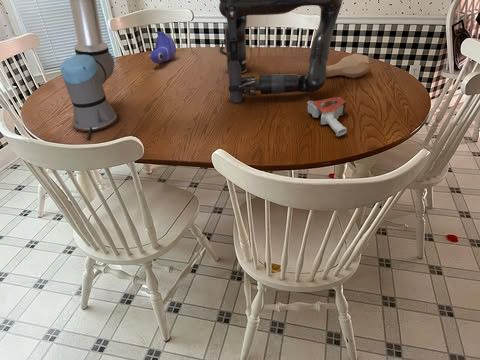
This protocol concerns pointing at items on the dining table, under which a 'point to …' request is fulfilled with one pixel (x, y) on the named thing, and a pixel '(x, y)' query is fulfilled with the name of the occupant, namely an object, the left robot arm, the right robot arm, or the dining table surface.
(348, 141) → the dining table surface
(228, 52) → the cap
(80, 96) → the left robot arm
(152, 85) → the dining table surface
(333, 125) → the tape dispenser
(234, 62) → the bottle
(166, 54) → the toy
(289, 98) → the dining table surface
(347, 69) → the squash
